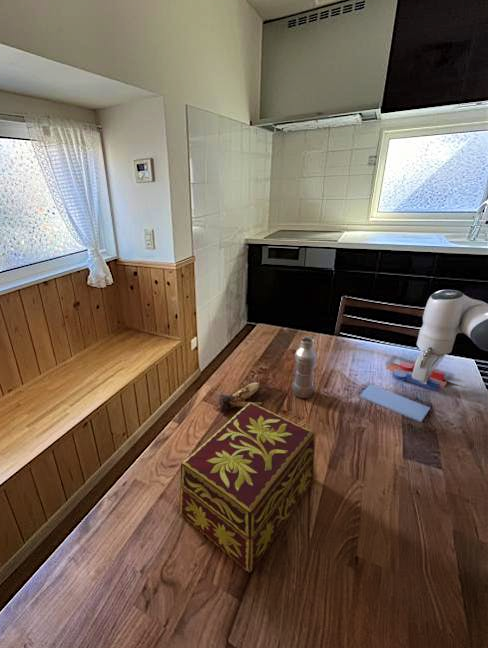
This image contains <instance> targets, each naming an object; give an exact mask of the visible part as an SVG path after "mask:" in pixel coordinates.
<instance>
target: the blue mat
mask: <svg viewBox="0 0 488 648" xmlns="http://www.w3.org/2000/svg"><path fill="white" fill-rule="evenodd" d="M359 398H361V399H363V400H366V401H368V402H371V403H374V404H375V405H378V406H380V407H382V408H385V409H387V410H390V411H393V412H394V413H397V414H400V415H402V416H404V417H406V418H409V419H411V420H414V421H416V422H418V423H422V422H423V420H424V419H425V418H426V416H427V415H428V413H429V411H430V410H431V407H430V406H426V405H424V404H423V403H419V402H417V401H414V400H412V399H409V398H406V397H404V396H401V395H399V394H396V393H393V392H391V391H388V390H386V389H384V388H381V387H378V386H375V385H373V384H369V385H368V386H367V387H366V388H365V389H364V390H363V391H362V392H361V393H360V395H359Z"/></svg>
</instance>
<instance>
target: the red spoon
mask: <svg viewBox="0 0 488 648" xmlns="http://www.w3.org/2000/svg"><path fill="white" fill-rule="evenodd" d="M399 365H400V366H399V367H400V368H401V369H402V370H405V371H413V370H414V366H415V363H410V362H406V361H401V362H399ZM446 374H447V373H446V372H444V371H441V370H437V369H435V370H434V371H433V373H432V375H431V378H434V379H437V380H440V381H443V380H445V377H446Z"/></svg>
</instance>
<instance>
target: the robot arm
mask: <svg viewBox="0 0 488 648" xmlns="http://www.w3.org/2000/svg"><path fill="white" fill-rule="evenodd" d="M458 334H464V335H465V336H467V337H468V338H469V339H470V340H471V341H472V342H473V343H474V344H475V346H476V347H478V348H479V349H480V350H483V351H485V352H488V303H487V302H485V301H482V300H480V299H474V298H471V297H470V296H467V295H465V294H464V293H463V292H462V291H460V290H455V289H442V290H438V291H434V292H433V293H432V294H431V295H430V296H429V298H428V299H427V302H426V305H425V308H424V311H423V315H422V325H421V327H420V329H419V332H418V337H417V340H416V347H417V348H418V349H419V351H420V352H421V353H420V354H418V356H417V357H416V361H415V363H414V364H415V366H414V370H413V373H412V378H413V379H414V380H417V381H420V383H423V384H426V383H427V382H428V378H429V379H430V378H431V375H432V373H433V371H434V370H437V368H438V366H439V364H440V363H441V362H442V361H443V359H444V358H445V357H446V355H448V354H450V353H452V351H453V347H454V344H455V341H456V337H457V335H458Z"/></svg>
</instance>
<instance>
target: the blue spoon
mask: <svg viewBox="0 0 488 648" xmlns="http://www.w3.org/2000/svg"><path fill="white" fill-rule="evenodd" d="M392 377H393V378H394V379H397V380H400V381H407V382H410V383H413V384H416V385H419V386H422V387H424V388H427V389H430V390H434V391H436V392H438V391H439V390H440V388H441V387H440V384H441V382H438V381H435V380H432V379H429V378H428V382H427V383H426V384H423V383H420V381H417V380H414V379H413V378H412V373H411V372H408V373H405V372H403V371H400V370H396V371H393V372H392Z"/></svg>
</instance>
